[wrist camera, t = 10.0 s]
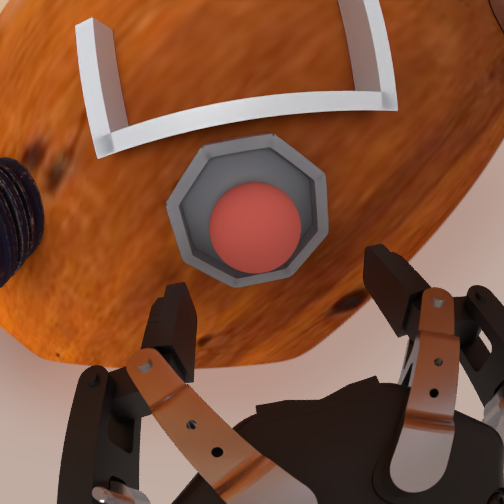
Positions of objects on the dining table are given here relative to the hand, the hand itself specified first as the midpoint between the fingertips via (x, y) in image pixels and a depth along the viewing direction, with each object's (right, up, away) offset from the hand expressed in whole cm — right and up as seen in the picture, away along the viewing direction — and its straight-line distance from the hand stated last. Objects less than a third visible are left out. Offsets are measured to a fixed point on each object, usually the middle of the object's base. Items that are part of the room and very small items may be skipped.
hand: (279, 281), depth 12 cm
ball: (-1, +4, +7) cm, 8 cm away
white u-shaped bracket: (-2, +14, +2) cm, 14 cm away
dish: (-1, +4, +8) cm, 9 cm away
